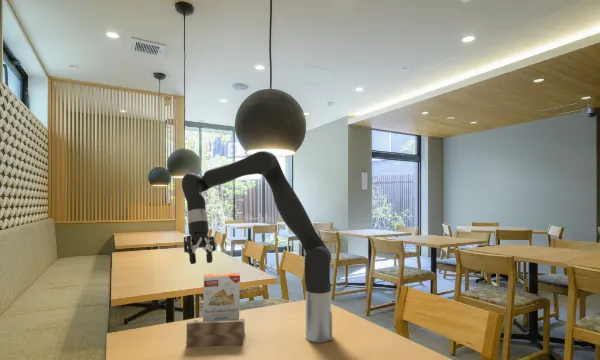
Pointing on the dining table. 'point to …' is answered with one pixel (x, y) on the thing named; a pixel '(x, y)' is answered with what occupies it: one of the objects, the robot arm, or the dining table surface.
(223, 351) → the dining table surface
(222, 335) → the walnut rack
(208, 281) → the cracker box
